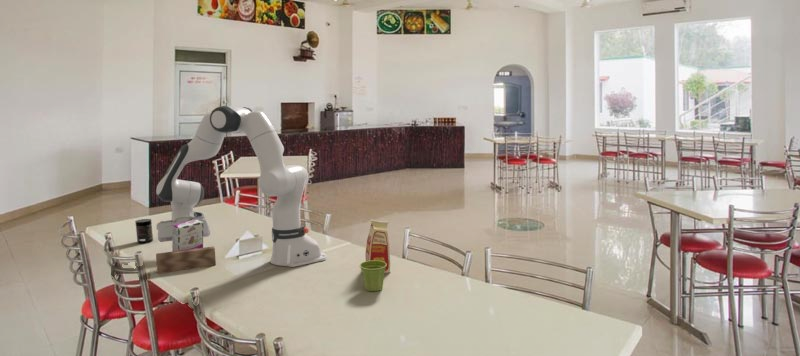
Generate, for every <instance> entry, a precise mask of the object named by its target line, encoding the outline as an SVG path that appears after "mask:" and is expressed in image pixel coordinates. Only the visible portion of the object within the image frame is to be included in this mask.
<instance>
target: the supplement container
mask: <svg viewBox="0 0 800 356" xmlns="http://www.w3.org/2000/svg"><path fill="white" fill-rule="evenodd" d="M152 224H153V223H152V219H151V218H141V219H137V220H135V232H136V240H137V241H136V242H137V243H138V244H149V243H152V242H153V241H154V237H153V236H154V233H153V225H152Z"/></svg>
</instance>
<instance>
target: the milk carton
mask: <svg viewBox="0 0 800 356" xmlns="http://www.w3.org/2000/svg"><path fill="white" fill-rule="evenodd" d="M370 222H371V224H370V228H369V231H368V235H367V239H366V246H365V261H372V260H378V261H383V262H385V263H386V264H387V266H386V267H385V271H384V274H388V273H391V252H390V242H389V234H388V225H389V223H390V222H389V221H378V220H374V219H370Z"/></svg>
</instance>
